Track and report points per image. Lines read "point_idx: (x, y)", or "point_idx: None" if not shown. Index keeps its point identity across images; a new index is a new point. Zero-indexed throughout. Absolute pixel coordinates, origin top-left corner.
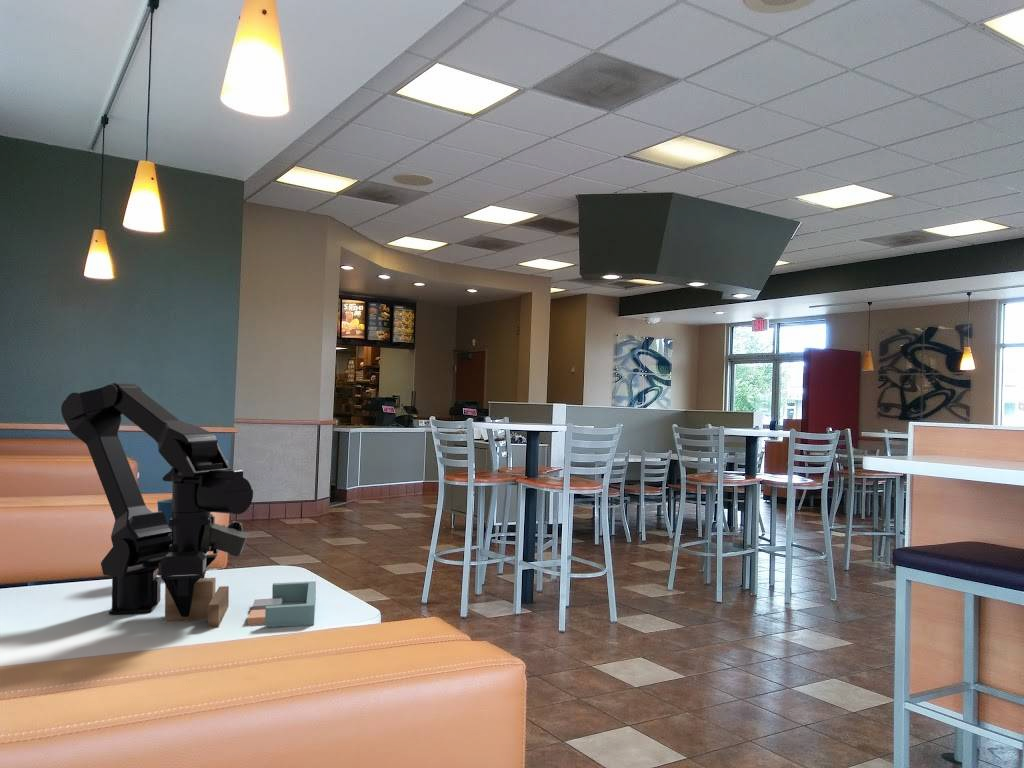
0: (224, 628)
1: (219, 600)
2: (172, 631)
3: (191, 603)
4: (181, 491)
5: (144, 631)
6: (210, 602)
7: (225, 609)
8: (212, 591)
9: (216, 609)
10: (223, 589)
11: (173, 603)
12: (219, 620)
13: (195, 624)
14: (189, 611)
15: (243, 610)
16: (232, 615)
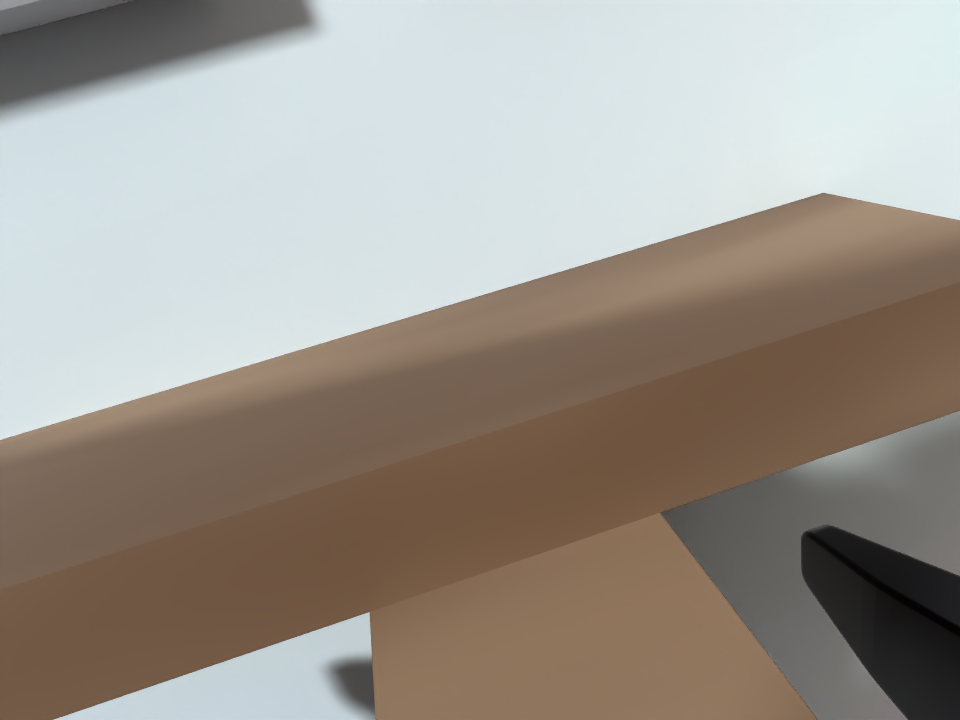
0: (881, 107)
1: (853, 335)
2: (856, 514)
3: (932, 596)
4: None
5: (811, 671)
6: (933, 411)
7: (280, 371)
8: (709, 585)
9: None
10: (80, 620)
11: None
12: (798, 220)
13: None
14: (874, 544)
15: (117, 173)
16: (381, 226)
